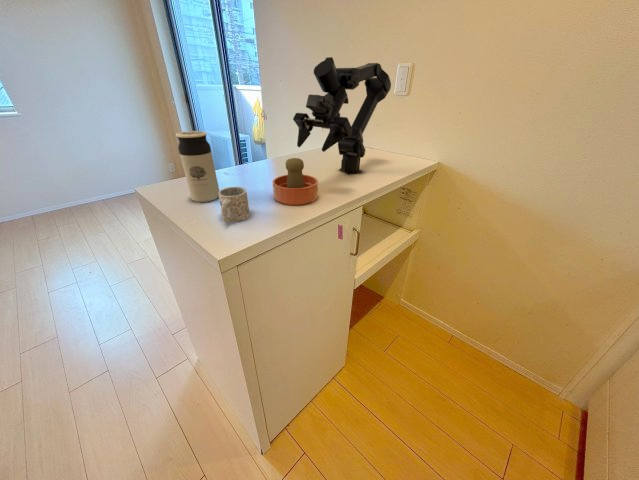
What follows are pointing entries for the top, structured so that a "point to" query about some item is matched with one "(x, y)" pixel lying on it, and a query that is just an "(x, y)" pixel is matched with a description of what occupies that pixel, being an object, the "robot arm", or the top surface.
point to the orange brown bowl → (295, 191)
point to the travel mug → (198, 165)
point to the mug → (234, 204)
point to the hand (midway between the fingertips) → (310, 148)
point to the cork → (295, 173)
